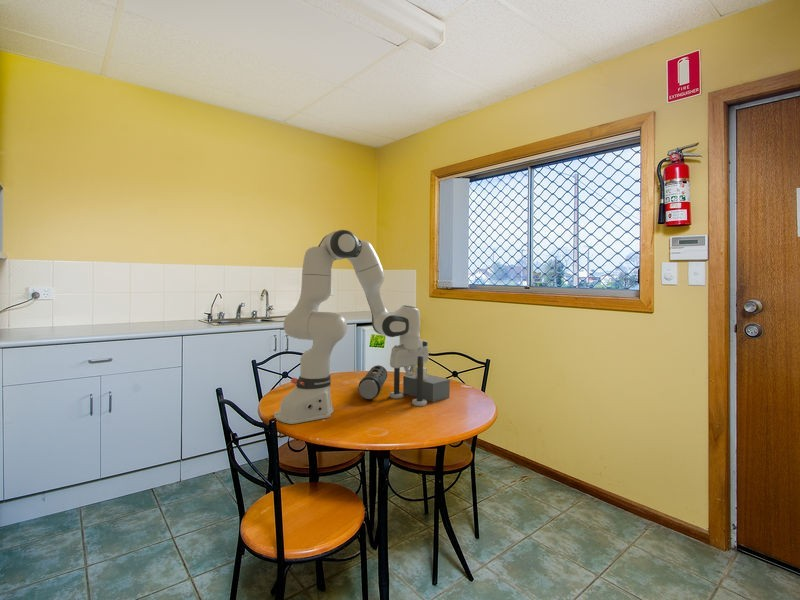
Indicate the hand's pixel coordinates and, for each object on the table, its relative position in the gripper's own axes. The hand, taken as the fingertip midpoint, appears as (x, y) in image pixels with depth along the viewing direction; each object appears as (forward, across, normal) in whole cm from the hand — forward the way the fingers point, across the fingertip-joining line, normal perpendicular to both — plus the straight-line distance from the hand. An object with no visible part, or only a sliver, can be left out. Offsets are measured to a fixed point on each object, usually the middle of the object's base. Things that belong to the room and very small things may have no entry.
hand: (409, 375), depth 178 cm
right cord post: (+11, -1, -7) cm, 13 cm away
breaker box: (+11, +11, 0) cm, 15 cm away
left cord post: (+11, -1, +7) cm, 13 cm away
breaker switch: (+3, +7, 0) cm, 8 cm away
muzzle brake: (+11, -5, +18) cm, 22 cm away
